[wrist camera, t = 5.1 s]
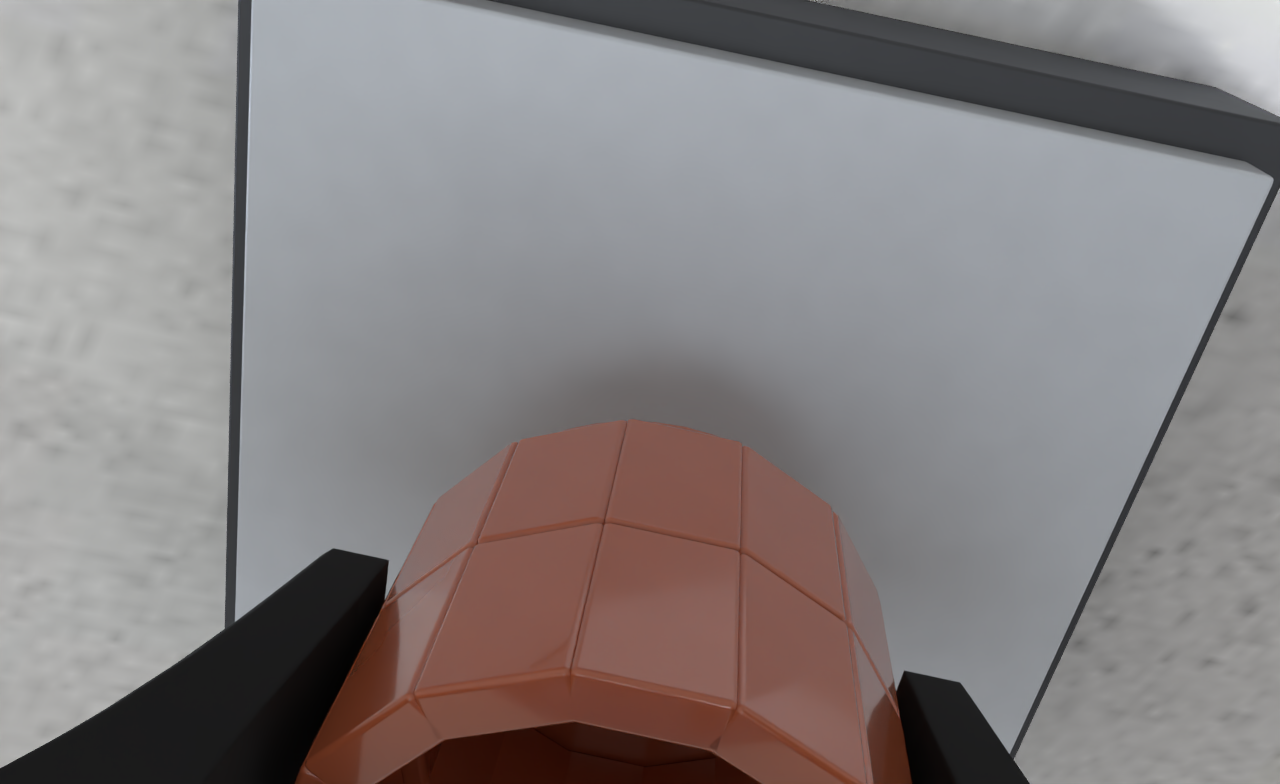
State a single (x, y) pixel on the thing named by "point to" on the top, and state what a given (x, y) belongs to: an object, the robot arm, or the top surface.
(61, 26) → the top surface
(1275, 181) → the scale
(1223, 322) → the top surface
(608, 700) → the flower pot
